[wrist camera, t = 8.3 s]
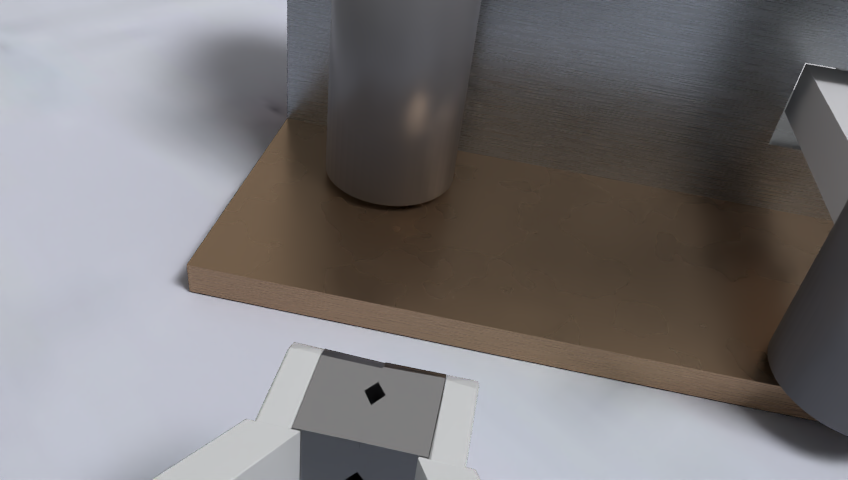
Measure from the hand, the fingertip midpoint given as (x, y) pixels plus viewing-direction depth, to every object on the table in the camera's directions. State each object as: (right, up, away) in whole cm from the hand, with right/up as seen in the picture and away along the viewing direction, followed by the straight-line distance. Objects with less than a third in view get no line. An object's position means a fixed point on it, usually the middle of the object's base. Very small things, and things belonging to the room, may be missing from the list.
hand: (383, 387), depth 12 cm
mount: (+6, +3, +15) cm, 16 cm away
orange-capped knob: (0, +7, +17) cm, 19 cm away
